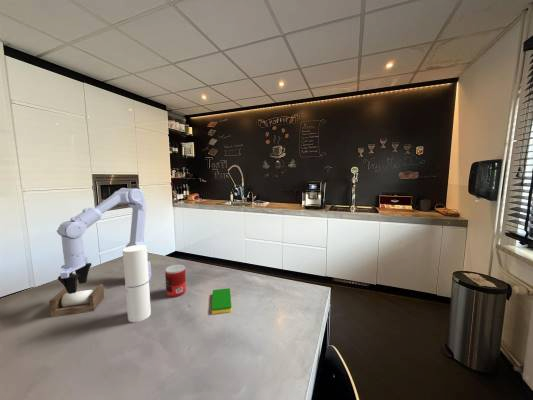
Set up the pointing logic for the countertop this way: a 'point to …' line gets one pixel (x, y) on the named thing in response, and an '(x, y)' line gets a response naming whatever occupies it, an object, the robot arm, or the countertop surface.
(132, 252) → the cylindrical container
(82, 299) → the roll
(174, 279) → the canned food
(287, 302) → the countertop surface
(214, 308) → the dish sponge
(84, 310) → the holder
